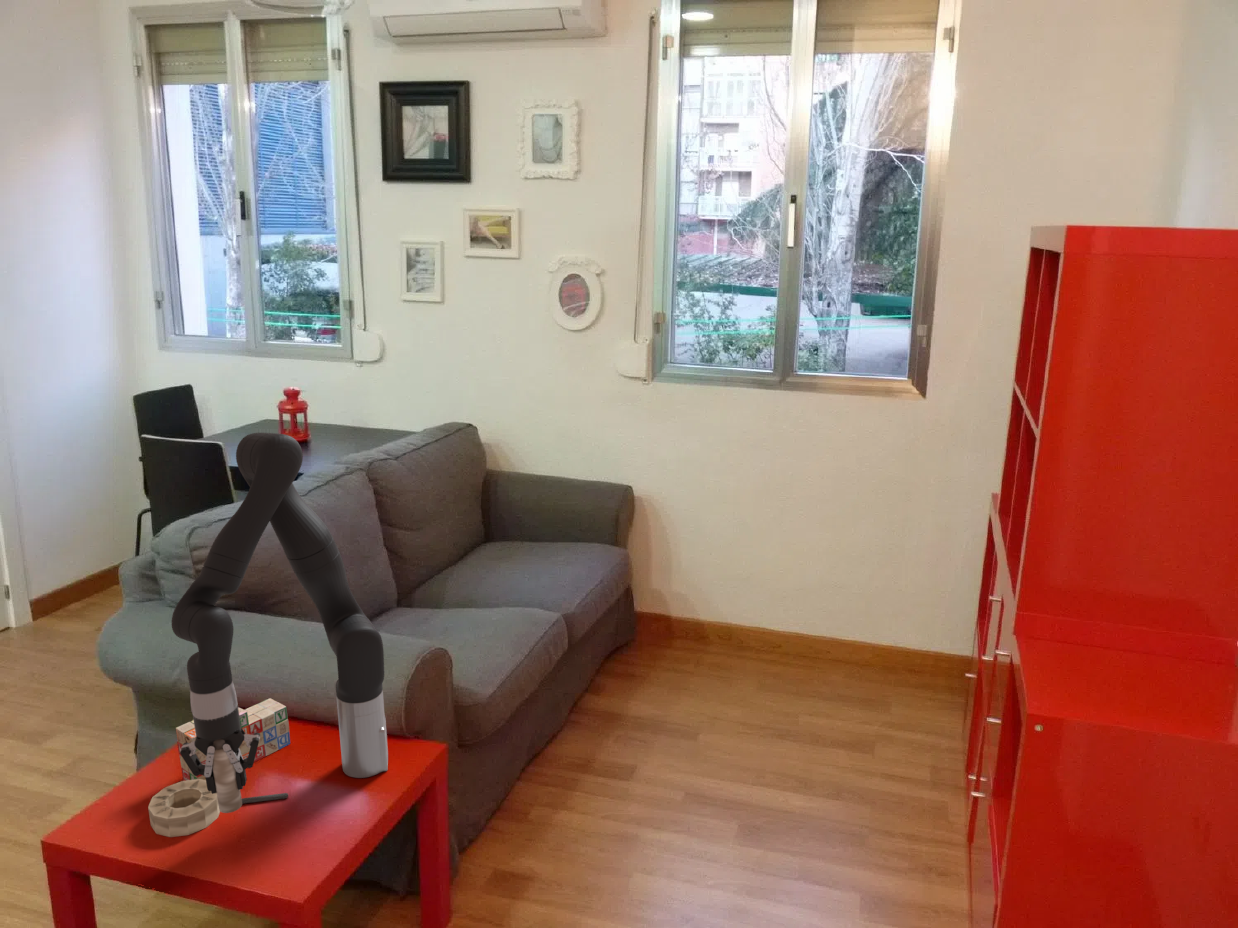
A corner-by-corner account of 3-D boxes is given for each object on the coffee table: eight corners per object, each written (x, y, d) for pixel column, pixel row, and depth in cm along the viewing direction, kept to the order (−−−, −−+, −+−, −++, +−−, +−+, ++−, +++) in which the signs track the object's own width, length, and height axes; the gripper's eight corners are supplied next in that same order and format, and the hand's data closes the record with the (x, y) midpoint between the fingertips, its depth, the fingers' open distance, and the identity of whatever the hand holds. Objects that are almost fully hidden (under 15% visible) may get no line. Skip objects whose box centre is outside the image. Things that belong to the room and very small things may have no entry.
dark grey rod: (288, 795, 186) (288, 791, 186) (288, 798, 185) (287, 794, 185) (241, 801, 185) (240, 797, 184) (240, 804, 184) (239, 800, 183)
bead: (225, 793, 187) (223, 775, 186) (213, 831, 176) (211, 813, 175) (160, 801, 185) (158, 783, 183) (144, 840, 173) (141, 821, 172)
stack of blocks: (274, 734, 208) (269, 685, 205) (291, 744, 204) (286, 693, 201) (182, 780, 192) (174, 726, 188) (198, 791, 188) (191, 737, 185)
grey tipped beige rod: (243, 797, 176) (232, 725, 172) (240, 810, 172) (229, 737, 168) (220, 801, 175) (209, 729, 171) (217, 814, 171) (205, 741, 167)
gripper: (259, 690, 173) (270, 771, 178) (176, 701, 170) (190, 783, 175) (254, 711, 166) (266, 794, 171) (167, 723, 163) (182, 807, 168)
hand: (227, 788), depth 173 cm, fingers closed on grey tipped beige rod, 4 cm apart
